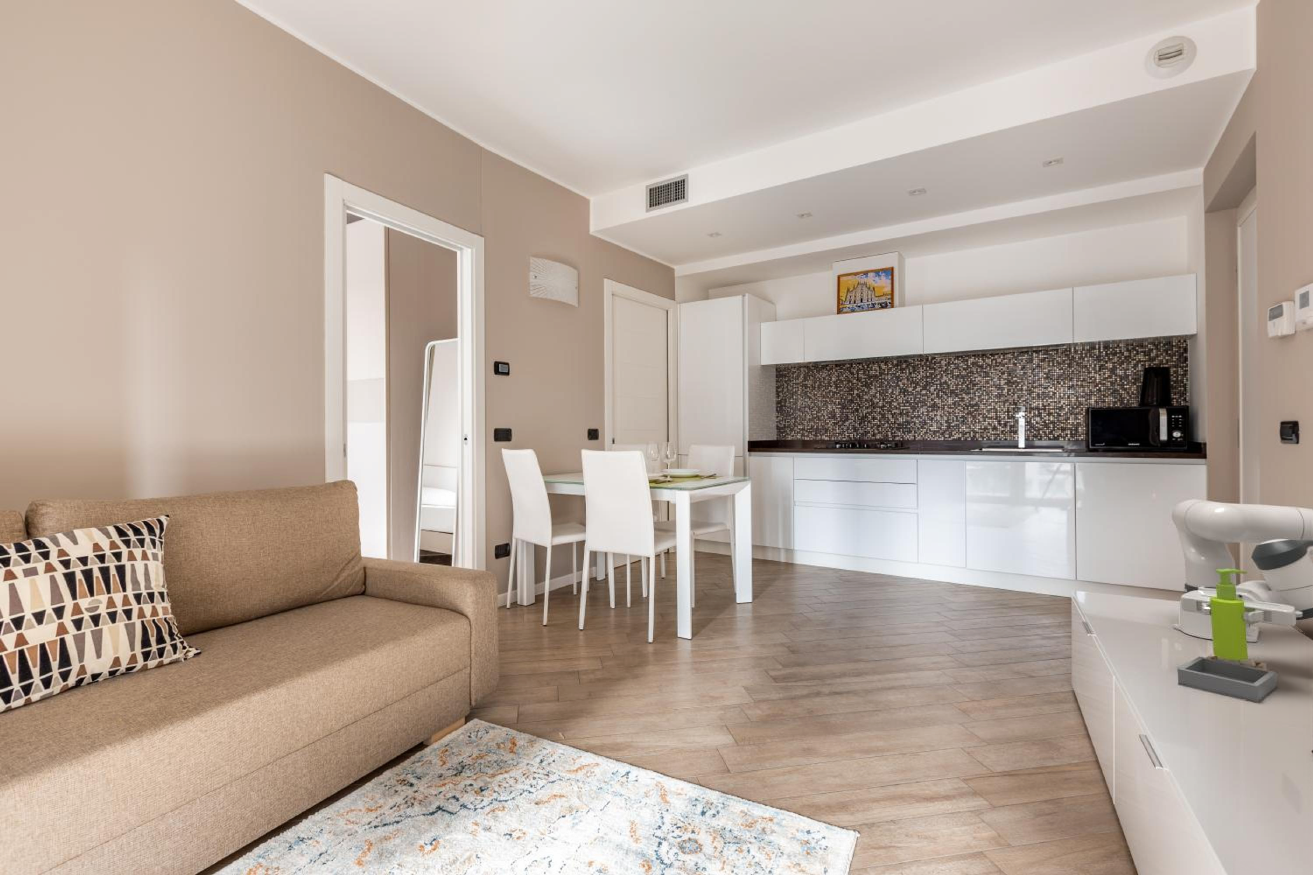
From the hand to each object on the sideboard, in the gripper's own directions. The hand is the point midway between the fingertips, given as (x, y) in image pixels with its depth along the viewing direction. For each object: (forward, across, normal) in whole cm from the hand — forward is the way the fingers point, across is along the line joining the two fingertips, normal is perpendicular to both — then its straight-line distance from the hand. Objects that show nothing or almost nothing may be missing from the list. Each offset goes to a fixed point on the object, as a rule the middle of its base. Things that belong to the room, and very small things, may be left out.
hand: (1226, 614), depth 145 cm
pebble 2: (-12, +3, -15) cm, 19 cm away
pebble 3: (-15, 0, -15) cm, 21 cm away
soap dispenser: (-2, 0, -10) cm, 10 cm away
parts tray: (-14, +3, -17) cm, 22 cm away
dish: (-1, +1, -17) cm, 17 cm away
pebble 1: (-15, +5, -15) cm, 22 cm away
